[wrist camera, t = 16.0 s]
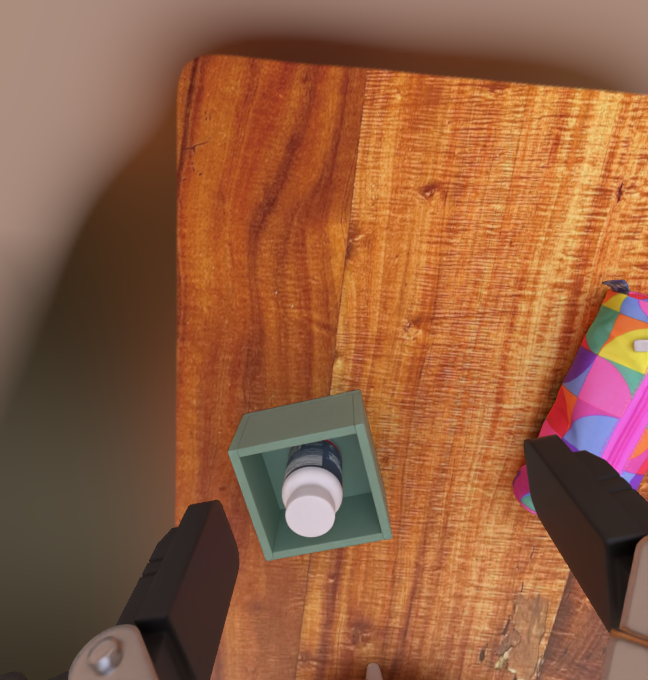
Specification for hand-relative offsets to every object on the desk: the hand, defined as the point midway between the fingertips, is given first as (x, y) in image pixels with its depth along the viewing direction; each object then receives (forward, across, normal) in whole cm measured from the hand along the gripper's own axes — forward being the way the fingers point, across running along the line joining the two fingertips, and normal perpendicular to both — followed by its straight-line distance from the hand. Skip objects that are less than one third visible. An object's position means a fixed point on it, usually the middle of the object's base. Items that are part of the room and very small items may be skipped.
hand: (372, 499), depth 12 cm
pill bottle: (+30, +7, +16) cm, 34 cm away
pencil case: (+30, -19, +15) cm, 39 cm away
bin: (+30, +7, +16) cm, 35 cm away
